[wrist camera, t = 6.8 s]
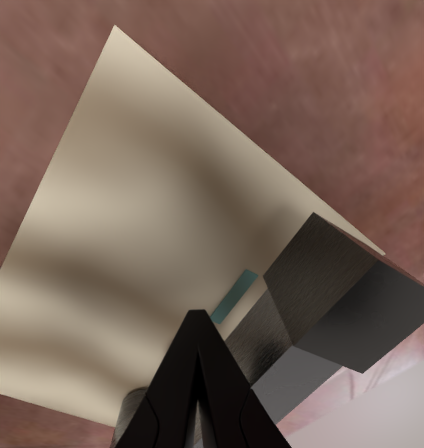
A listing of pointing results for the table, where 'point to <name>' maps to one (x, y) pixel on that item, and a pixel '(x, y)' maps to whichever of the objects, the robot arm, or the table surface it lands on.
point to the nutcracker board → (138, 237)
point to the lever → (315, 319)
